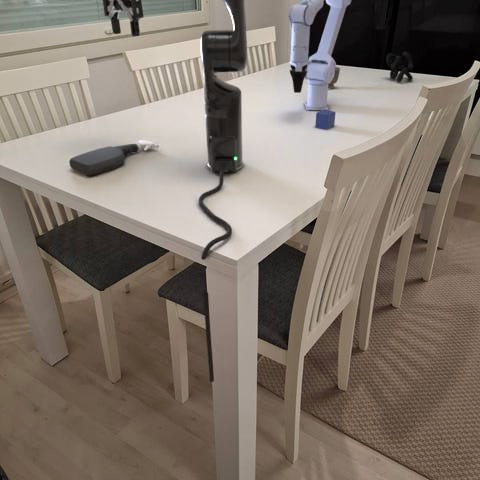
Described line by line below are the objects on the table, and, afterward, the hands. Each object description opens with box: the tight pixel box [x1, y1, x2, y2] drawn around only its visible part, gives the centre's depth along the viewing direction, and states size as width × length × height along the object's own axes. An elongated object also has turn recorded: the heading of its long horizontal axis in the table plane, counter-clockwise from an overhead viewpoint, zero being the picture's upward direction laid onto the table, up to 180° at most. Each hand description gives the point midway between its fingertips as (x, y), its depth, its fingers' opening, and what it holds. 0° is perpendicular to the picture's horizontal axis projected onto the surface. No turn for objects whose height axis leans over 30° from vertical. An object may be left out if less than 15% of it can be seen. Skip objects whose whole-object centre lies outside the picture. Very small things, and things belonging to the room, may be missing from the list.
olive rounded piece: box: [328, 66, 341, 89], centre depth 188 cm, size 8×7×8 cm
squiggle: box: [385, 51, 414, 83], centre depth 198 cm, size 11×10×15 cm
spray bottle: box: [68, 139, 160, 177], centre depth 124 cm, size 3×11×24 cm
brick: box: [314, 110, 337, 131], centre depth 145 cm, size 4×5×5 cm
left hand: (126, 34), depth 124 cm, fingers open, 8 cm apart
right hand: (297, 89), depth 151 cm, fingers open, 7 cm apart
